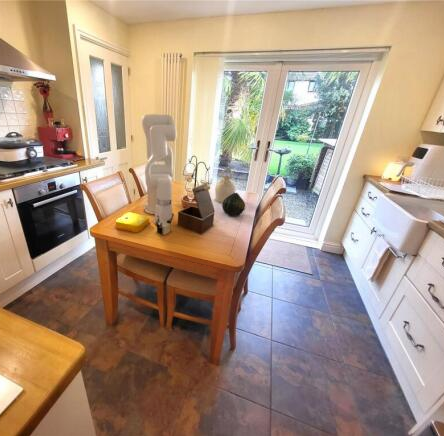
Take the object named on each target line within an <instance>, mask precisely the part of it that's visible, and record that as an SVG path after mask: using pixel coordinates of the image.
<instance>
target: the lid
mask: <svg viewBox="0 0 444 436" xmlns="http://www.w3.org/2000/svg"><path fill="white" fill-rule="evenodd" d="M210 189H211V187H210V185H208V183H203V184H201V185H197V186H196V187H193V188H192V189H191V190H192V194H193V196H194V200H195V203H196V207H198V209H199V213H200V216H201V219H204V218H205V217H207V216H209V215H210V214H212V213H214V214H215V212H216V211H215V207H214V204H213V200H212V197H211V194H210Z"/></svg>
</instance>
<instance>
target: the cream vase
mask: <svg viewBox="0 0 444 436" xmlns="http://www.w3.org/2000/svg"><path fill="white" fill-rule="evenodd" d="M227 171H228V172H229V173H230V175H225V172H227ZM221 176H222V179H220V180H219V181H217V183H216V184H215V187H214V194H215V200H216V202H218V203H220V204H221V203H223V201H224V199H225V198H226V197H228V196H229V195H231V194H233V193H236V184H235V182H234V181H232V180H231V178H232V177H233V170H232V169H231V168H228V167H226V168H225V169H223V170H222V171H221Z"/></svg>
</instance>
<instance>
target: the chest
mask: <svg viewBox="0 0 444 436" xmlns="http://www.w3.org/2000/svg"><path fill="white" fill-rule="evenodd" d="M214 220H215V212H214V213H212V214H210V215H209V216H207V217H205V218H204V219H201V216H200V213H199V209H198V206H195V205H189V206H187V207H185V208H183V209H181V210H179V211H178V212H177V226H178V227H181V228H184V229H186V230H189V231H192V232H194V233H196V234H200V235H202V234H203V233H205V232H206V231H207V230H209V229H211V228H212V227H213V226H214Z"/></svg>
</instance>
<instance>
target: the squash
mask: <svg viewBox="0 0 444 436" xmlns="http://www.w3.org/2000/svg"><path fill="white" fill-rule="evenodd" d="M221 207H222V211H223V212H224V213H225V214H228V215H231V216H232V217H236V216H240V215H242V214H243V213H244V211H245V209H246V203H245V200H244V199H243V198H242V196H241V195H240V194H239V193H238V192H235V193H233V194H231V195H229V196H228V197H226V198H225V199H224V201H223V203H222V204H221Z"/></svg>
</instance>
